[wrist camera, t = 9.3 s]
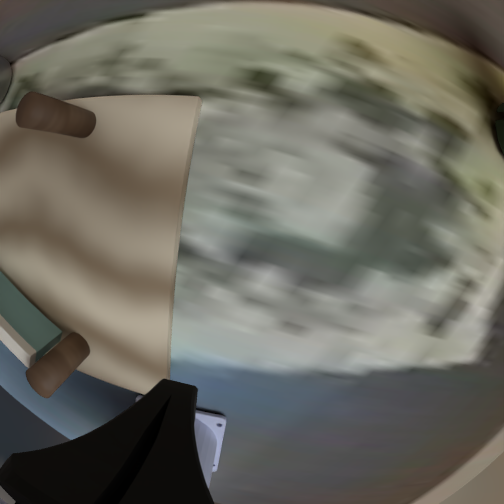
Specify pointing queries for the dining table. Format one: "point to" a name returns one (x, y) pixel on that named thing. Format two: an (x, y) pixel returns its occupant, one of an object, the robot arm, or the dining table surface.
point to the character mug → (500, 128)
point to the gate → (24, 325)
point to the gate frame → (97, 228)
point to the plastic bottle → (4, 77)
